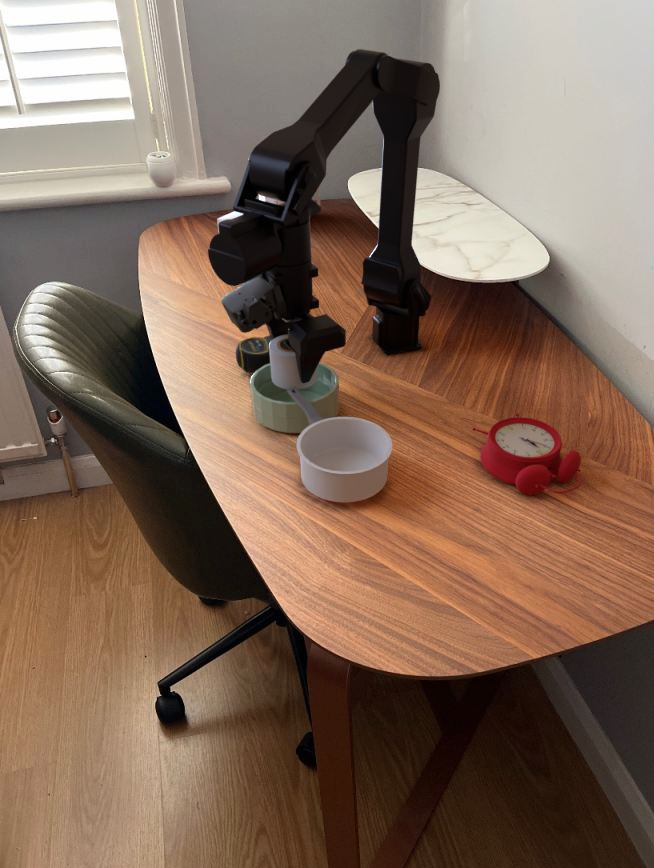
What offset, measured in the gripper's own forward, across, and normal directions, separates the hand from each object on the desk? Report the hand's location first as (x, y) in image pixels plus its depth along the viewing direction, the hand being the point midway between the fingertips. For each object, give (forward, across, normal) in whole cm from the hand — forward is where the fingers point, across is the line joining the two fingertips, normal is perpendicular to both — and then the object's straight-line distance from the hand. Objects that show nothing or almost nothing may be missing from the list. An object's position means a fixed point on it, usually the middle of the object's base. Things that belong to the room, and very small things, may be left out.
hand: (294, 371), depth 101 cm
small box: (+7, -46, +13) cm, 49 cm away
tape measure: (+7, -14, +1) cm, 16 cm away
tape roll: (+1, 0, 0) cm, 1 cm away
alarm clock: (+7, +27, +20) cm, 34 cm away
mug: (+7, -70, +34) cm, 78 cm away
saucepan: (+6, +13, -2) cm, 14 cm away
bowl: (+6, 0, 0) cm, 6 cm away
